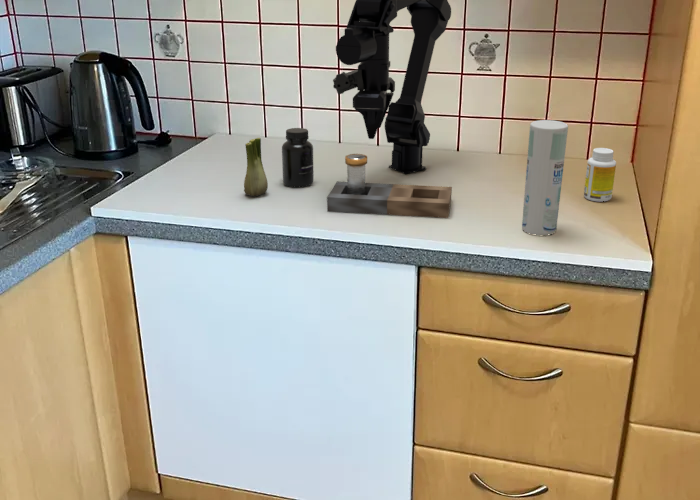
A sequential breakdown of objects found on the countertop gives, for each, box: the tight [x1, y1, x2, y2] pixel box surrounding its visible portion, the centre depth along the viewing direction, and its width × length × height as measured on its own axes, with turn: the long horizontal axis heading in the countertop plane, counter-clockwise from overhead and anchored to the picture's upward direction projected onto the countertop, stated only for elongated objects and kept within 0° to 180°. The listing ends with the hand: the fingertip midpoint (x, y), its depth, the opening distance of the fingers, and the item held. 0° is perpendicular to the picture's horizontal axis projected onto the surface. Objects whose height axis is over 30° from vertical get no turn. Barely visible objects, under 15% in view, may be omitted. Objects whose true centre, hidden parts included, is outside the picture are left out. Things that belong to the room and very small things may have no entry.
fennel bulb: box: [243, 137, 268, 197], centre depth 158 cm, size 6×5×12 cm
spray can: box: [521, 119, 569, 236], centre depth 137 cm, size 6×6×20 cm
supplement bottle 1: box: [281, 127, 315, 189], centre depth 165 cm, size 7×7×12 cm
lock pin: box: [344, 153, 368, 195], centre depth 152 cm, size 4×4×10 cm
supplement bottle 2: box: [583, 147, 617, 203], centre depth 154 cm, size 6×6×10 cm
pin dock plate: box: [326, 180, 453, 219], centre depth 153 cm, size 24×10×3 cm, turn 80°
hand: (374, 133), depth 159 cm, fingers open, 9 cm apart
